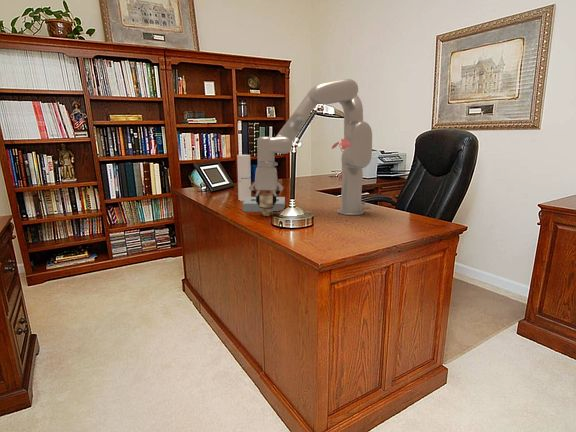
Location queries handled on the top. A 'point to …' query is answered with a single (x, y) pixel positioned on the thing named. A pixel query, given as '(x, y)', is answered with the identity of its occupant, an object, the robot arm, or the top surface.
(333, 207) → the top surface
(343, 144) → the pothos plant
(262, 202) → the birch peg
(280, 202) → the mortise board
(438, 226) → the top surface
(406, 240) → the top surface
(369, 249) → the top surface
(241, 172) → the grey square post
